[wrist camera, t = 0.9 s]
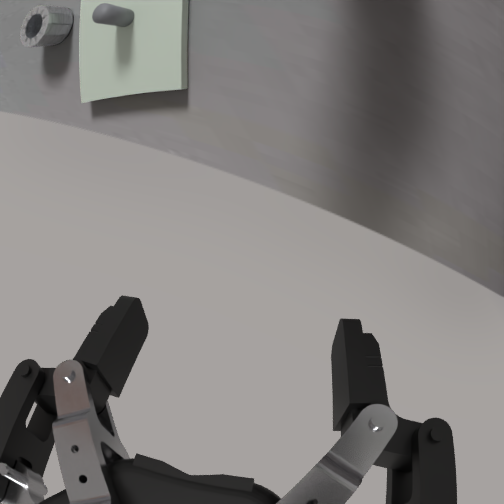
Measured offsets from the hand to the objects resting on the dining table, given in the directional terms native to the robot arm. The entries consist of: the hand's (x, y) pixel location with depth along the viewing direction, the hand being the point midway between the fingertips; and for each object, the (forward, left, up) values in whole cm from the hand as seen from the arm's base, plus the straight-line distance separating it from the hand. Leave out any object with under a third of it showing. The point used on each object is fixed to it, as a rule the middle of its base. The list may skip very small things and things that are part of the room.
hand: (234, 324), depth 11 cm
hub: (-21, -30, -26) cm, 45 cm away
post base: (-18, -17, -26) cm, 36 cm away
